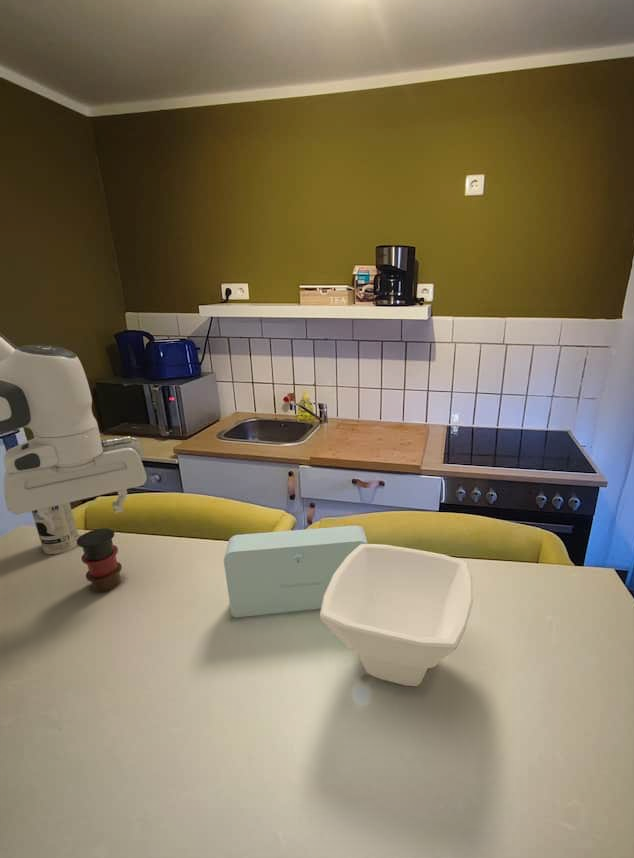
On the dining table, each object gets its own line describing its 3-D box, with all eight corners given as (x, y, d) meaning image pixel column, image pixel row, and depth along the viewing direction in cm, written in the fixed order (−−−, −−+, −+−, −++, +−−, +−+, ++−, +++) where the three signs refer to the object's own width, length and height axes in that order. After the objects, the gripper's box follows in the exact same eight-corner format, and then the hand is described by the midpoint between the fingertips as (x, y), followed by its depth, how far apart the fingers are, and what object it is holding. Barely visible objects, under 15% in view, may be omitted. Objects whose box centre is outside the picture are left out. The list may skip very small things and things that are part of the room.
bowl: (355, 607, 74) (354, 538, 69) (469, 632, 69) (477, 558, 64) (311, 700, 58) (306, 617, 53) (458, 742, 52) (467, 655, 47)
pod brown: (92, 601, 77) (87, 584, 75) (88, 584, 81) (84, 568, 80) (127, 588, 80) (123, 572, 78) (122, 573, 84) (118, 557, 83)
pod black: (83, 567, 74) (78, 549, 73) (80, 552, 78) (75, 535, 77) (120, 555, 77) (116, 538, 76) (115, 541, 82) (111, 525, 80)
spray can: (36, 553, 91) (8, 466, 84) (65, 536, 97) (42, 454, 90) (59, 558, 89) (33, 470, 82) (88, 541, 95) (65, 457, 88)
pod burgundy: (87, 583, 76) (82, 566, 74) (84, 567, 80) (79, 551, 79) (124, 571, 79) (120, 554, 77) (119, 556, 83) (115, 540, 82)
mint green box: (231, 623, 71) (221, 555, 66) (236, 600, 76) (227, 535, 72) (369, 609, 74) (369, 543, 69) (364, 587, 79) (364, 524, 75)
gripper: (136, 429, 79) (148, 497, 84) (-7, 453, 67) (18, 529, 72) (143, 438, 74) (156, 509, 79) (-9, 465, 63) (17, 546, 67)
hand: (89, 519), depth 75 cm, fingers open, 8 cm apart
